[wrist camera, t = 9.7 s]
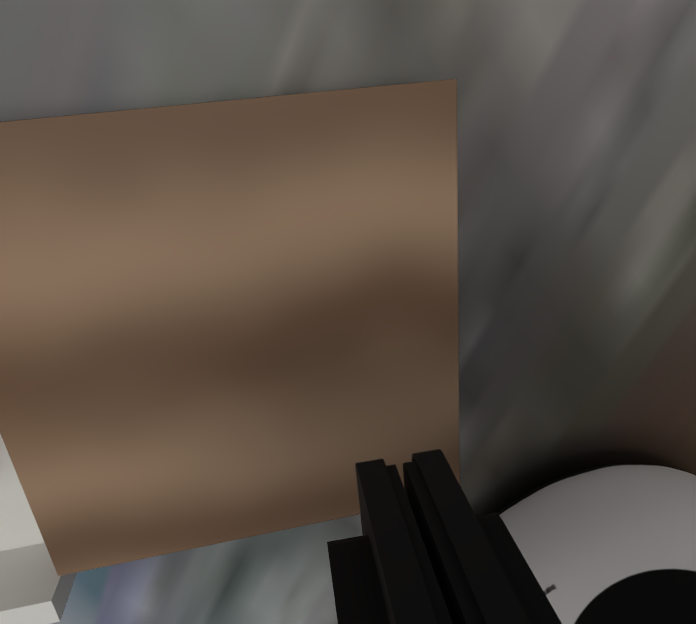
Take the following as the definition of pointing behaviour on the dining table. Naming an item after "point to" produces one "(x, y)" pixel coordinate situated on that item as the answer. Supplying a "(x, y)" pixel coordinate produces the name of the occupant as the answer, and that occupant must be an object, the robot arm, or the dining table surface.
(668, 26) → the dining table surface
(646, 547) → the milk container
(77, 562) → the brown square slab
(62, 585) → the tray
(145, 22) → the dining table surface
